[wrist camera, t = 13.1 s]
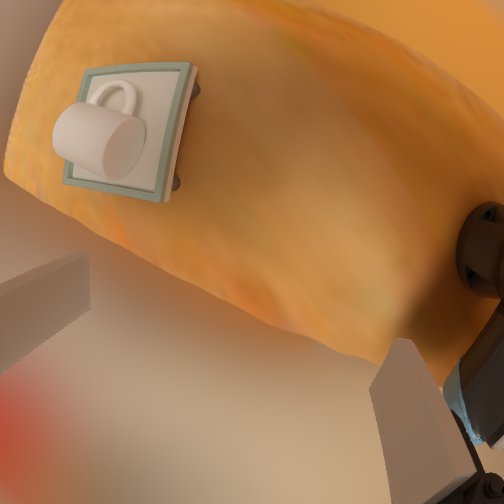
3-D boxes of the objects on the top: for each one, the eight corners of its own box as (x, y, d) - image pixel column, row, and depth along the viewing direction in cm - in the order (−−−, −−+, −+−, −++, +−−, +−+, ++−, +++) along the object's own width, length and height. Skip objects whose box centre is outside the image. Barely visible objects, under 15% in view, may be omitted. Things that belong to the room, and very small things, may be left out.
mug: (131, 180, 33) (93, 183, 26) (83, 157, 34) (44, 157, 26) (166, 94, 30) (133, 76, 22) (112, 80, 30) (76, 67, 23)
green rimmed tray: (208, 79, 34) (190, 61, 27) (182, 198, 39) (159, 203, 32) (111, 80, 36) (85, 69, 29) (91, 181, 41) (62, 184, 34)
